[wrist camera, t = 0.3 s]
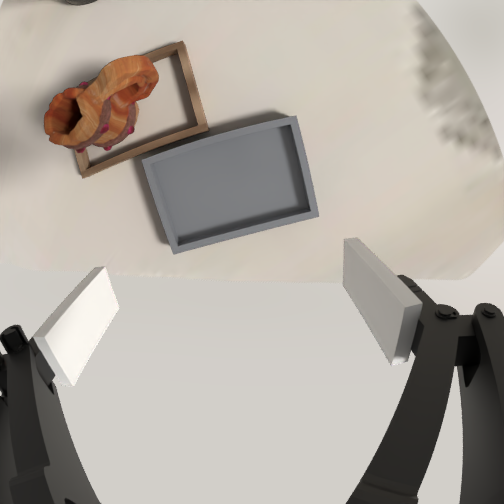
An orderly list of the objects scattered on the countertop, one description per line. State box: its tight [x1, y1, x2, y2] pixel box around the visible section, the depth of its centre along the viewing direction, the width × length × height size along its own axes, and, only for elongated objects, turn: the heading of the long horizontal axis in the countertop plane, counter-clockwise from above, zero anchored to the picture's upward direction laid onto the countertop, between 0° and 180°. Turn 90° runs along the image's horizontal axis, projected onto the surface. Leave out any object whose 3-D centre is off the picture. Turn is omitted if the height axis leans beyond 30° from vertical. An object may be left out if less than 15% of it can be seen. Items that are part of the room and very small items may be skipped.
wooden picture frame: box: [74, 41, 209, 179], centre depth 34 cm, size 14×20×2 cm
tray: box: [142, 116, 319, 254], centre depth 38 cm, size 14×21×3 cm, turn 105°
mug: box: [44, 55, 159, 153], centre depth 28 cm, size 15×8×15 cm, turn 118°
